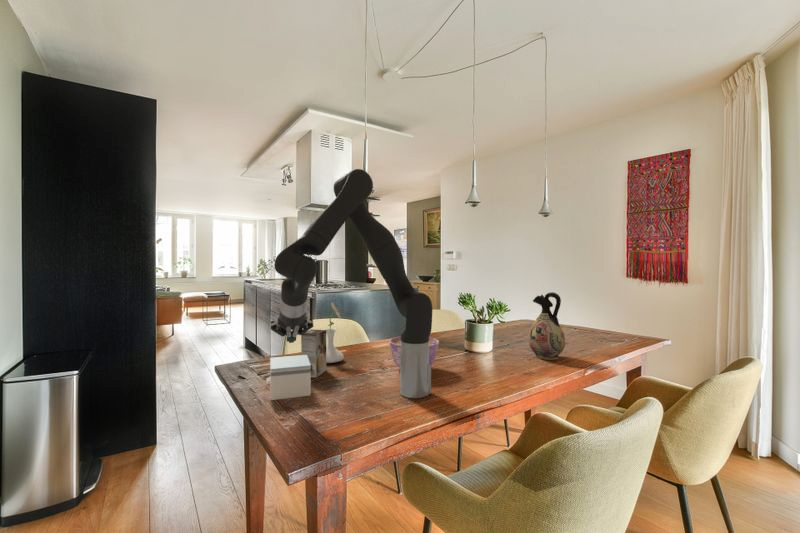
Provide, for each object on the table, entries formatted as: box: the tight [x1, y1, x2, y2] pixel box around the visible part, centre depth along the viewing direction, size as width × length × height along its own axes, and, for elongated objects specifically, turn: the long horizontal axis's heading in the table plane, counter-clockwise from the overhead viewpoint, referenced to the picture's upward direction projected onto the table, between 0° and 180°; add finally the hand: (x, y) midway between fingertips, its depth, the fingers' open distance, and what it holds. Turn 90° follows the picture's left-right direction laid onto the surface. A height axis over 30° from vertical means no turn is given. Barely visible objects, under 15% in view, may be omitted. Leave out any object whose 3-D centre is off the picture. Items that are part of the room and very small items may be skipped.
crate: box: [269, 365, 312, 401], centre depth 118 cm, size 12×11×9 cm
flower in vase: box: [324, 302, 345, 364], centre depth 154 cm, size 13×11×25 cm
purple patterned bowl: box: [388, 335, 440, 368], centre depth 143 cm, size 20×20×12 cm
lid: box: [269, 354, 311, 371], centre depth 118 cm, size 12×11×1 cm
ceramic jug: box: [528, 291, 566, 361], centre depth 162 cm, size 17×15×30 cm
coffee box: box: [300, 329, 327, 378], centre depth 137 cm, size 9×6×16 cm
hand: (291, 340), depth 114 cm, fingers closed
